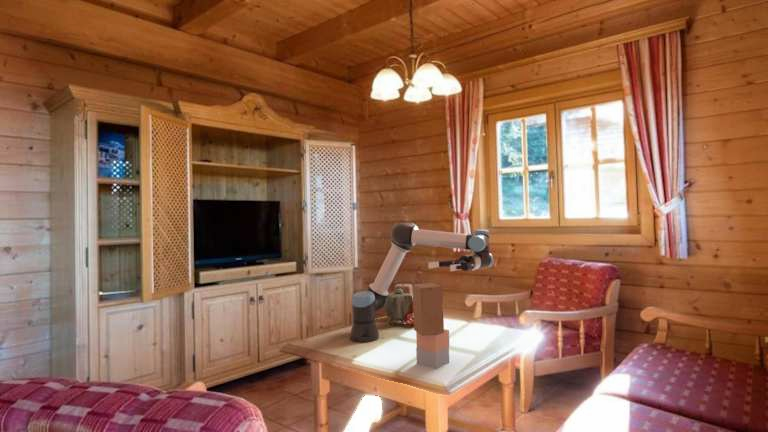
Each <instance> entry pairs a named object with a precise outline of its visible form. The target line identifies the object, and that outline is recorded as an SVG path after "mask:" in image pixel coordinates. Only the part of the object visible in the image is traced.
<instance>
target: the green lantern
mask: <svg viewBox="0 0 768 432" xmlns="http://www.w3.org/2000/svg"><path fill="white" fill-rule="evenodd" d="M402 285H403V286H402ZM398 286H400V287H401V286H402V287H401V288H400V289H402V290H403V293H408V294H411V296H412V301H413V284H412V283H397V284H395V287H398ZM395 287H394V286H393V292H395V290H396V289H398V288H395ZM412 315H413V316H414V314H413V313H412ZM410 317H411V316H410ZM410 317H409V318H410ZM406 319H407V318H406ZM410 319H411V318H410Z"/></svg>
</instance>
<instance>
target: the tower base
mask: <svg viewBox="0 0 768 432" xmlns="http://www.w3.org/2000/svg"><path fill="white" fill-rule="evenodd" d="M415 351H416V365H419V366H423V367H427V368H432V369H435V370H437V369H439V368H441V367H443V366H445V365H447V364H449V363H450V346H449V347H447V348H445V349H442V350H440V351H438V352H433V351H428V350H424V349H419V348H417V347H416V348H415Z"/></svg>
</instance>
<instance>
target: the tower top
mask: <svg viewBox="0 0 768 432" xmlns="http://www.w3.org/2000/svg"><path fill="white" fill-rule="evenodd" d="M415 334H416V335H415V336H416V348H419V349H424V350H428V351H433V352H438V351H440V350H442V349H445V348H447V347H449V348H450V330H449V329H445V328H444V333H442V334H434V335H426V336H422V335H420V334H419V333H418V332H416V331H415Z"/></svg>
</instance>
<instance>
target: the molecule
mask: <svg viewBox="0 0 768 432" xmlns="http://www.w3.org/2000/svg"><path fill="white" fill-rule="evenodd" d="M444 306H445V305H444V303H443V309H444V308H445V307H444ZM411 310H412V312H413V303H412V306H411ZM410 316H411V317H410ZM409 317H410V318H409ZM405 319H406V318H405ZM403 322H404V323H405V324H406V325H409V326H414V313H413V315H412V313H411V314H410V313H409V314H408V315H407V319H406V320H405V321H403Z"/></svg>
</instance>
